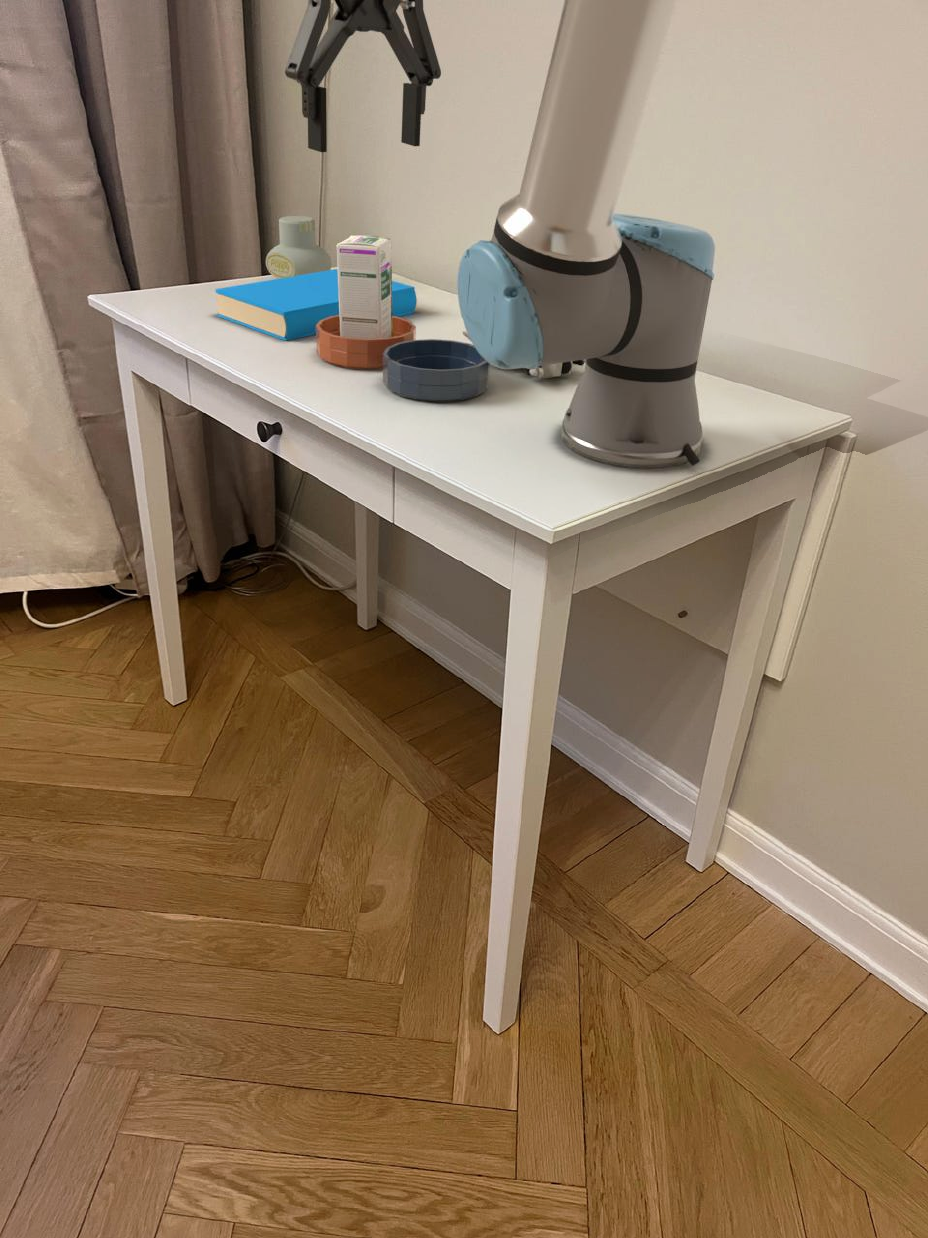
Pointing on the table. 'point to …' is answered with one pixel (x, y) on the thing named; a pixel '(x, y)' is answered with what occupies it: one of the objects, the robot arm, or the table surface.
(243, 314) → the book
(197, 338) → the table surface
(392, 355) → the slate bowl
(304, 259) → the air freshener
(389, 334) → the syrup box
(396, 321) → the terracotta bowl
